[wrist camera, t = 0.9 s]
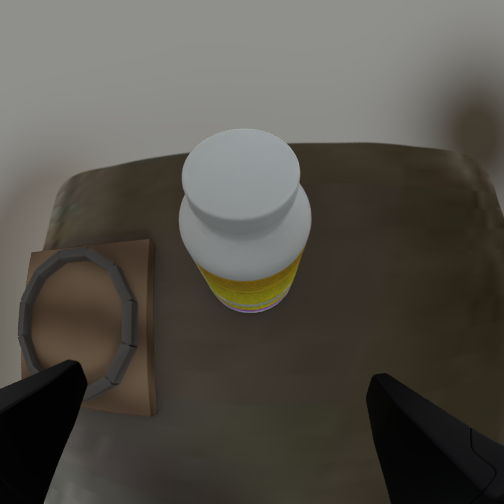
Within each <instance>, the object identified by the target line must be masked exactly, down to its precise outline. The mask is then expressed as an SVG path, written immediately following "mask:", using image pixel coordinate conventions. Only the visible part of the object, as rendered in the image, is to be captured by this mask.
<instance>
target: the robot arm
mask: <svg viewBox="0 0 504 504" xmlns="http://www.w3.org/2000/svg"><path fill="white" fill-rule="evenodd" d="M87 385H88V382H87V378H86V376H85V373H84V371H83V368H82V366H81V364H80V362H78V361H75V360H71V359H68V360H65V361H63V362H61V363H59V364H56V365H54V366H52V367H50V368H47V369H45V370H43V371H41V372H38V373H36V374H34V375H31V376H29V377H27V378H24V379H22V380H20V381H18V382H15V383H13V384H11V385H8V386H6V387H4V388H1V389H0V504H44V501H45V498H46V495H47V492H48V489H49V486H50V483H51V481H52V478H53V475H54V473H55V470H56V467H57V465H58V462H59V460H60V457H61V455H62V452H63V450H64V447H65V445H66V443H67V440H68V438H69V436H70V433H71V431H72V429H73V426H74V424H75V422H76V419H77V416H78V413H79V410H80V407H81V404H82V401H83V398H84V395H85V392H86V389H87ZM366 402H367V408H368V413H369V418H370V424H371V429H372V435H373V440H374V444H375V448H376V451H377V455H378V458H379V462H380V465H381V468H382V472H383V475H384V479H385V483H386V486H387V490H388V494H389V498H390V501H391V504H504V445H502V444H500V443H498V442H496V441H494V440H492V439H490V438H488V437H486V436H485V435H483V434H481V433H479V432H478V431H476V430H475V429H473V428H470V427H469V426H468V425H466V424H465V423H463V422H462V421H460V420H458V419H457V418H455V417H454V416H452V415H450V414H449V413H447V412H446V411H444V410H442V409H441V408H439V407H438V406H436V405H435V404H433V403H431V402H430V401H428V400H427V399H425V398H424V397H422V396H421V395H419V394H418V393H416V392H414V391H413V390H411V389H410V388H408V387H407V386H405V385H404V384H402V383H401V382H399V381H398V380H396V379H395V378H393V377H392V376H390V375H389V374H387V373H382V374H375V375H373V377H372V379H371V382H370V385H369V388H368V392H367V395H366Z"/></svg>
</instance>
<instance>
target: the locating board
mask: <svg viewBox="0 0 504 504" xmlns="http://www.w3.org/2000/svg"><path fill="white" fill-rule="evenodd" d="M154 264H155V245H154V244H153V242H152V241H151V240H150V239H143V240H134V241H124V242H115V243H106V244H97V245H89V246H80V247H72V248H64V249H56V250H48V251H40V252H32V253H31V258H30V264H29V270H28V277H27V284H26V290H25V292H24V294H23V296H22V298H21V301H22V302H20V310H19V322H18V336H19V337H18V339H19V343H20V346H21V368H22V379H24V378H27V377H29V376H31V375H34V374H36V373H38V372H41V371H43V370H45V369H47V368H50V367H52V366H54V365H56V364H59V363H61V362H63V361H65V360H68V359H71V360H75V361H78V362H80V364H81V366H82V368H83V371H84V373H85V376H86V378H87V382H88V385H87V389H86V392H85V395H84V398H83V401H82V404H81V407H83V408H89V409H94V410H100V411H106V412H113V413H120V414H128V415H137V416H147V417H152V416H154V415H156V414H158V413H157V401H156V387H155V370H154V341H153V293H154Z"/></svg>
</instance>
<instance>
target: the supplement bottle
mask: <svg viewBox="0 0 504 504" xmlns="http://www.w3.org/2000/svg"><path fill="white" fill-rule="evenodd" d="M299 180H300V168H299V163H298V160H297V157H296V155H295V153H294V152H293V151H292V149H291V148H290V147H289V146H288V145H287V144H286V143H285V142H284V141H283V140H281V139H280V138H278V137H276V136H274V135H272V134H270V133H267V132H265V131H261V130H257V129H247V128H241V129H240V128H239V129H230V130H226V131H222V132H219V133H216V134H214V135H212V136H210V137H208V138H206V139H204V140H203V141H202V142H201V143H199V144H198V145H197V146H196V147H195V148H194V149H193V150H192V151H191V152H190V154H189V155H188V157H187V159H186V161H185V163H184V166H183V170H182V185H183V189H184V192H185V195H184V198H183V200H182V203H181V207H180V212H179V228H180V233H181V237H182V240H183V242H184V245H185V247H186V248H187V250H188V252H189V253H190V255H191V257H192V258H193V260H194V261H195V263H196V265H197V266H198V268H199V270H200V271H201V273H202V275H203V276H204V278H205V280H206V281H207V283H208V285H209V286H210V288H211V290H212V291H213V293H214V294H215V296H216V297H217V298H218V299H219V300H220V301H221V302H222V303H223V304H224V305H226V306H227V307H229V308H231V309H233V310H236V311H239V312H245V313H256V312H261V311H264V310H267V309H269V308H271V307H273V306H275V305H276V304H278V303H279V302H280V301H281V300H282V299H283V298H284V297H285V295H286V294H287V293H288V291H289V289H290V287H291V285H292V282H293V279H294V276H295V274H296V271H297V268H298V265H299V262H300V259H301V256H302V253H303V250H304V248H305V245H306V242H307V239H308V236H309V232H310V228H311V209H310V204H309V201H308V198H307V195H306V193H305V191H304V190H303V188H302V186H301V185H300V183H299Z"/></svg>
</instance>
